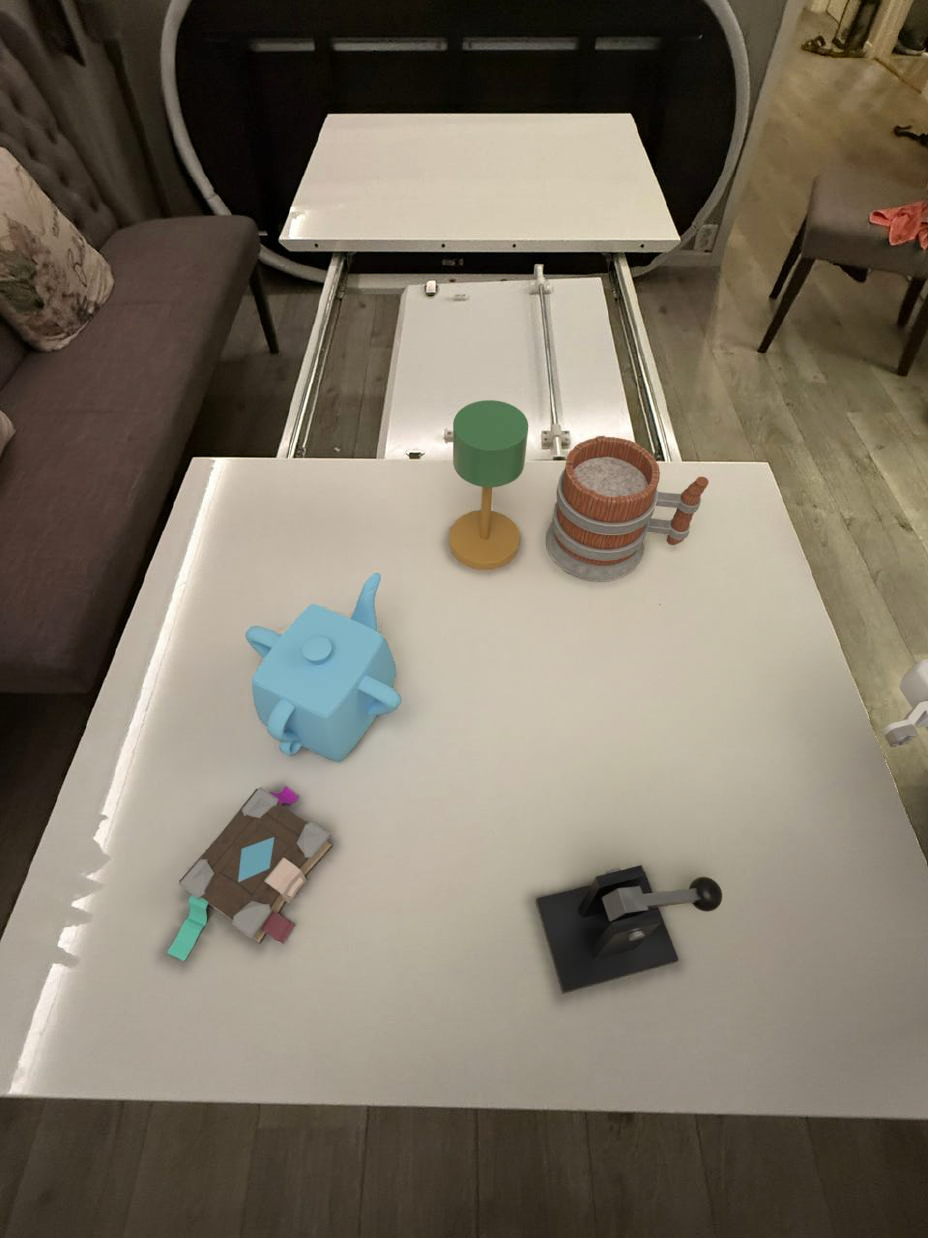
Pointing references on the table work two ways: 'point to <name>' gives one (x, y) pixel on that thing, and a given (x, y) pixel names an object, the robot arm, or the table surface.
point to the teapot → (324, 677)
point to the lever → (661, 899)
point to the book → (252, 870)
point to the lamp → (487, 480)
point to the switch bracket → (602, 933)
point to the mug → (613, 508)
